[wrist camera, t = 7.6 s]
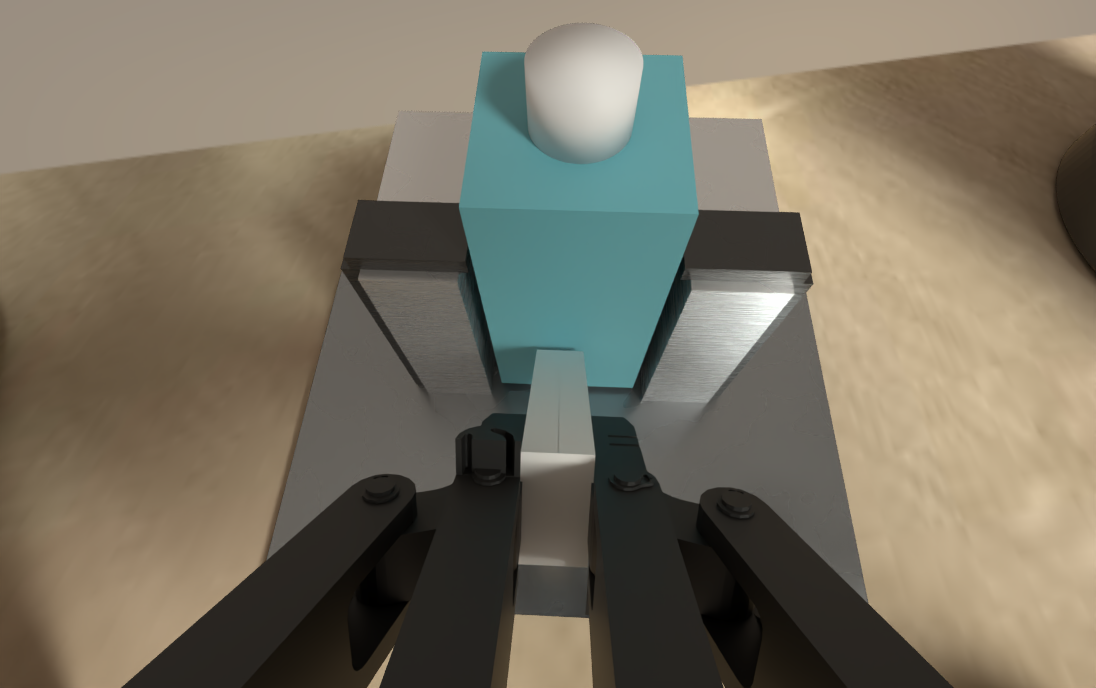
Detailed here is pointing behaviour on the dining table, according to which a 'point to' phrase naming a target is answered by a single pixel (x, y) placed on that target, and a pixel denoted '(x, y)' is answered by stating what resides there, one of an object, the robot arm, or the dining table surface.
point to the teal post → (578, 198)
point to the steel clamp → (650, 406)
